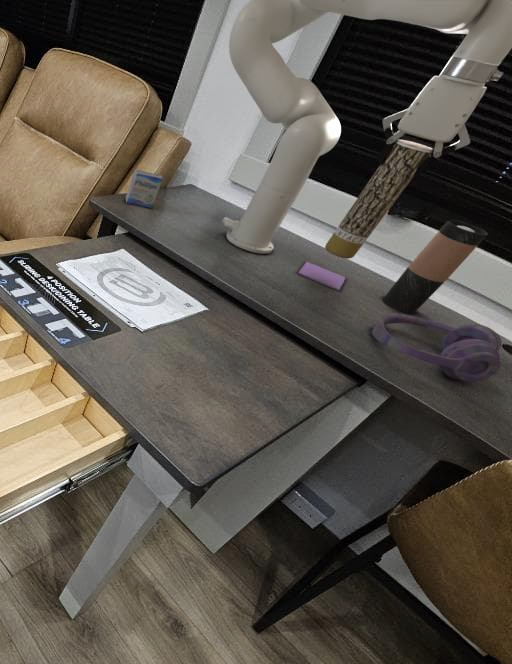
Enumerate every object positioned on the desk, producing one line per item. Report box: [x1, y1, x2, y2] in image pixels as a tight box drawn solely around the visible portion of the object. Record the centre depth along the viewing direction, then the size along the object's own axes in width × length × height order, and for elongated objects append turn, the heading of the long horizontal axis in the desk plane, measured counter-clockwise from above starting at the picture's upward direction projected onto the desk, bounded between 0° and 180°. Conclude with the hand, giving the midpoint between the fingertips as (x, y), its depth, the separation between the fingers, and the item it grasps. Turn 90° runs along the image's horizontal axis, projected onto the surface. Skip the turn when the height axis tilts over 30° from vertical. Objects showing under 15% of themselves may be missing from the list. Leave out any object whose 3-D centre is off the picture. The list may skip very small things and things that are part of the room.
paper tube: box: [324, 138, 434, 259], centre depth 104 cm, size 7×7×25 cm
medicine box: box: [125, 169, 163, 209], centre depth 133 cm, size 8×4×9 cm, turn 81°
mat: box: [297, 261, 346, 292], centre depth 117 cm, size 10×10×1 cm
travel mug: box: [383, 219, 488, 314], centre depth 104 cm, size 8×8×20 cm
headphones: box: [371, 312, 502, 383], centre depth 92 cm, size 18×8×20 cm
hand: (398, 168), depth 99 cm, fingers closed on paper tube, 6 cm apart
